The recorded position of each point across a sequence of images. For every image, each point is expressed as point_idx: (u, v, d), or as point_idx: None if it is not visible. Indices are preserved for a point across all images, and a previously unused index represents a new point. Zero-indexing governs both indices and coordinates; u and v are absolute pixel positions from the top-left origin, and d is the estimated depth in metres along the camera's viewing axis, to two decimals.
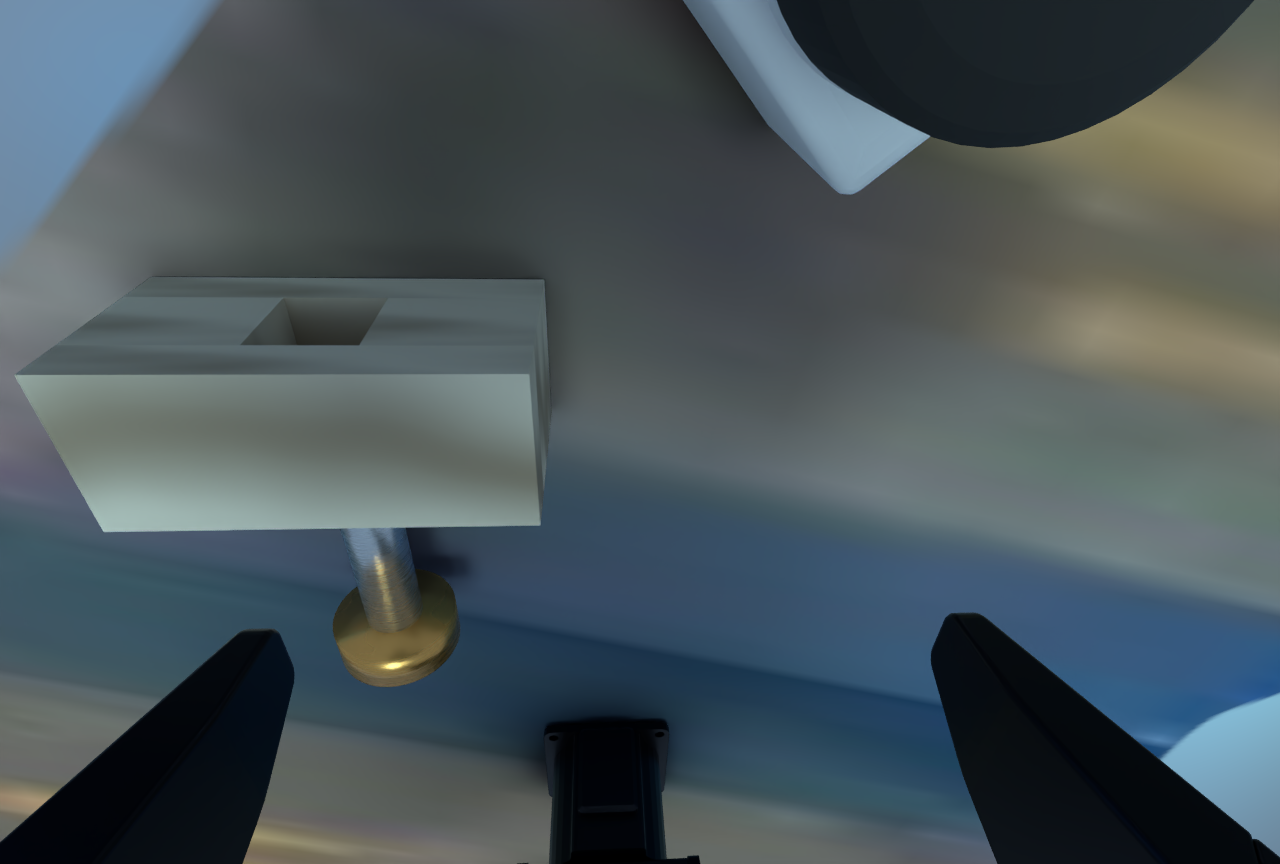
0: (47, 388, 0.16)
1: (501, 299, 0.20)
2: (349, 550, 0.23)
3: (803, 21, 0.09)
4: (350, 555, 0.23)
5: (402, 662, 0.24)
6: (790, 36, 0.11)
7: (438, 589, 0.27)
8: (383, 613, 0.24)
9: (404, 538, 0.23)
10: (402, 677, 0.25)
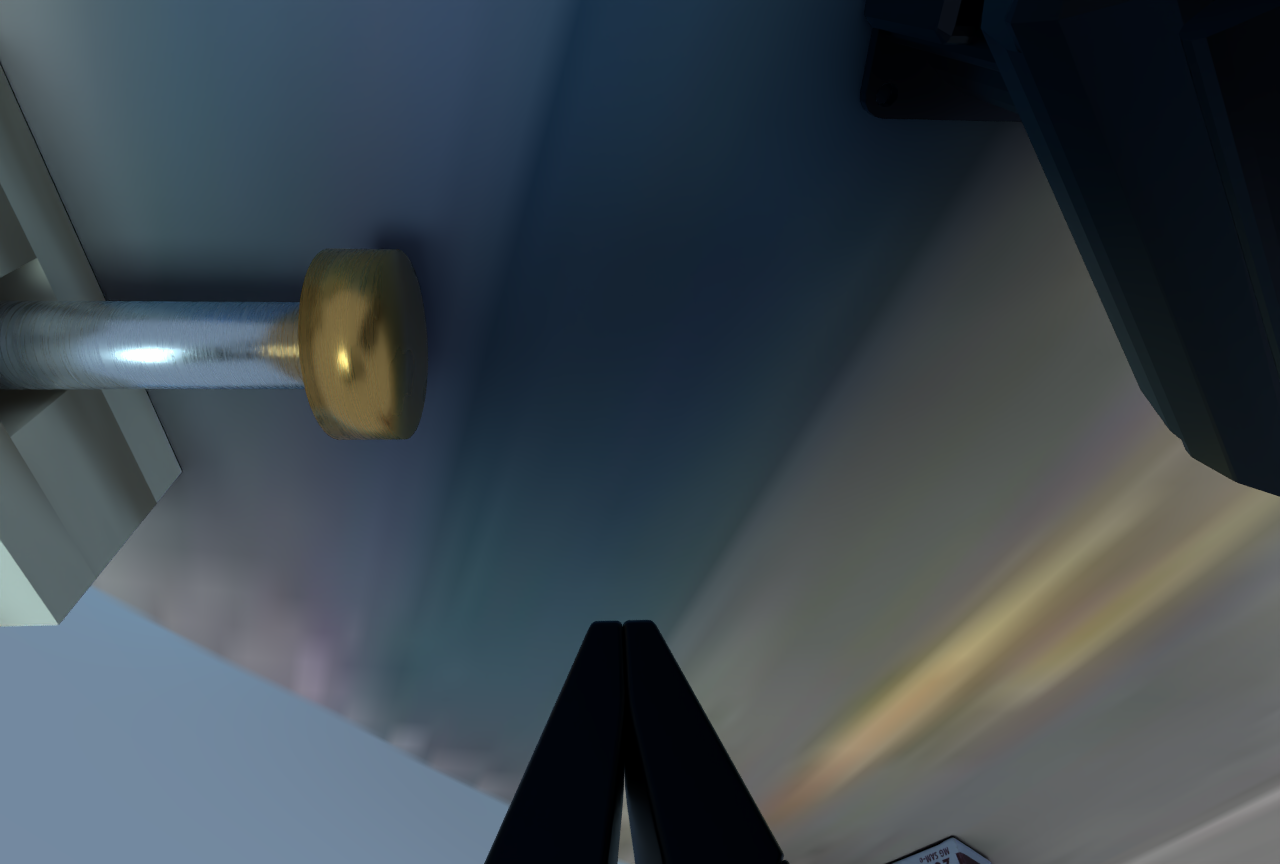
0: None
1: None
2: (155, 386, 0.15)
3: None
4: (168, 387, 0.15)
5: (314, 363, 0.14)
6: None
7: None
8: (276, 366, 0.15)
9: (148, 307, 0.15)
10: (355, 370, 0.14)
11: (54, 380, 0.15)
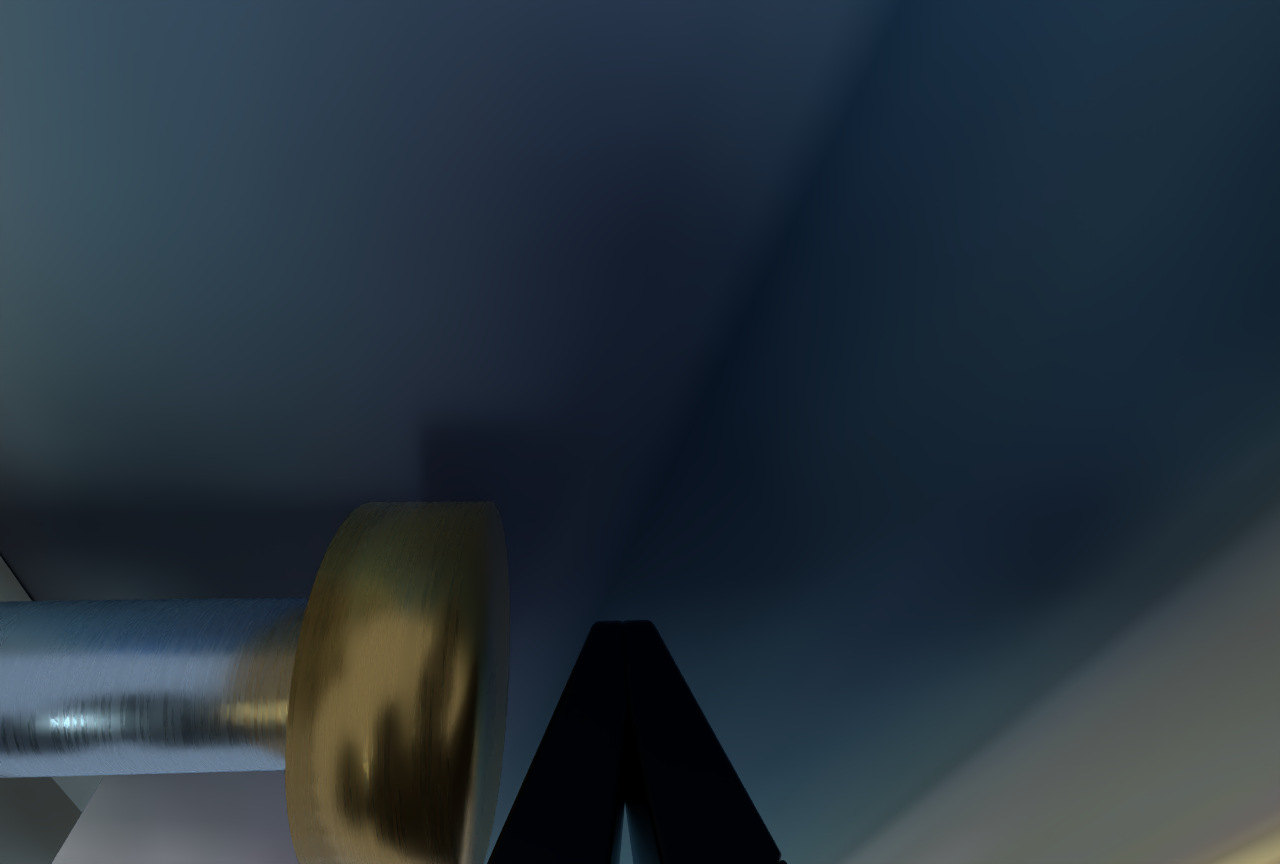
0: None
1: None
2: None
3: None
4: None
5: (321, 824, 0.06)
6: None
7: None
8: (245, 757, 0.08)
9: None
10: (407, 834, 0.07)
11: None
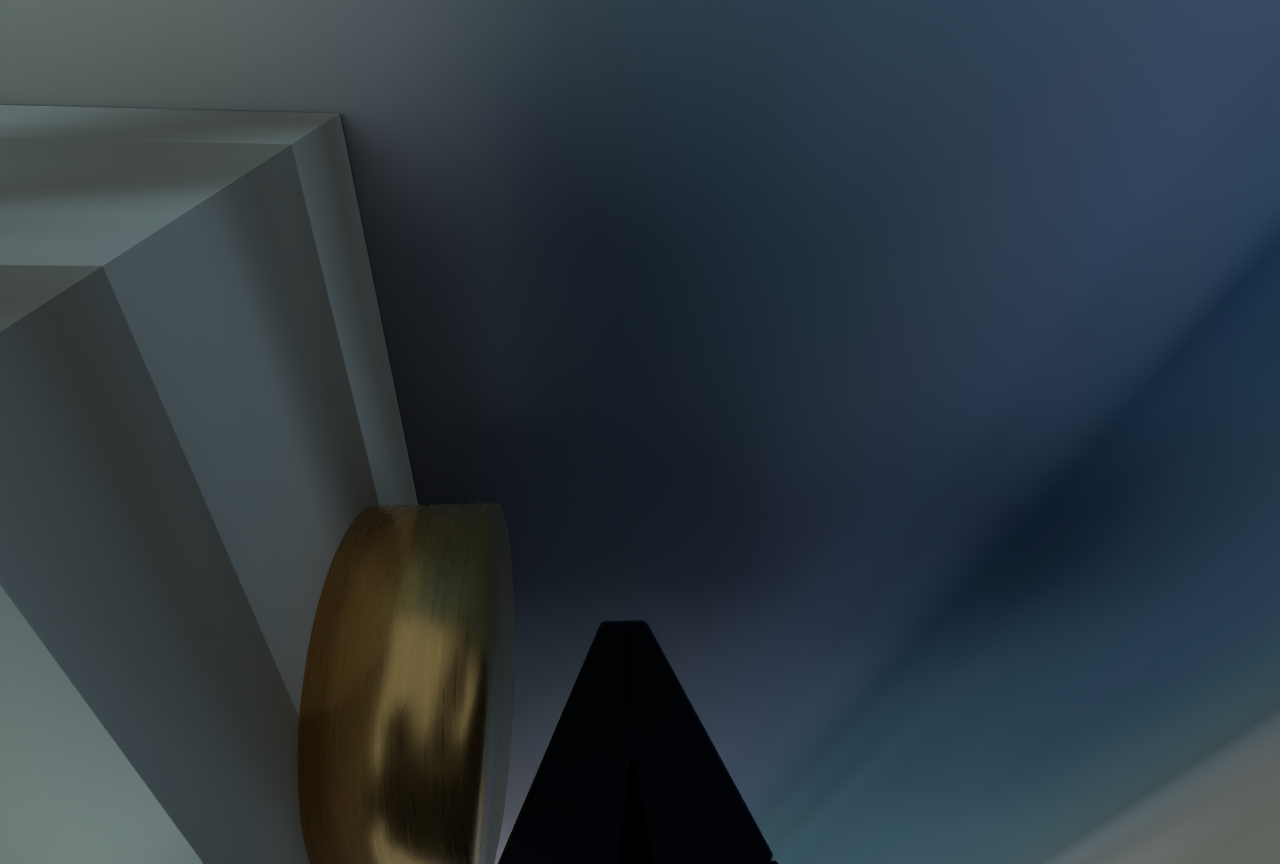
0: None
1: None
2: None
3: None
4: None
5: (333, 829, 0.06)
6: None
7: None
8: None
9: None
10: (420, 837, 0.07)
11: None
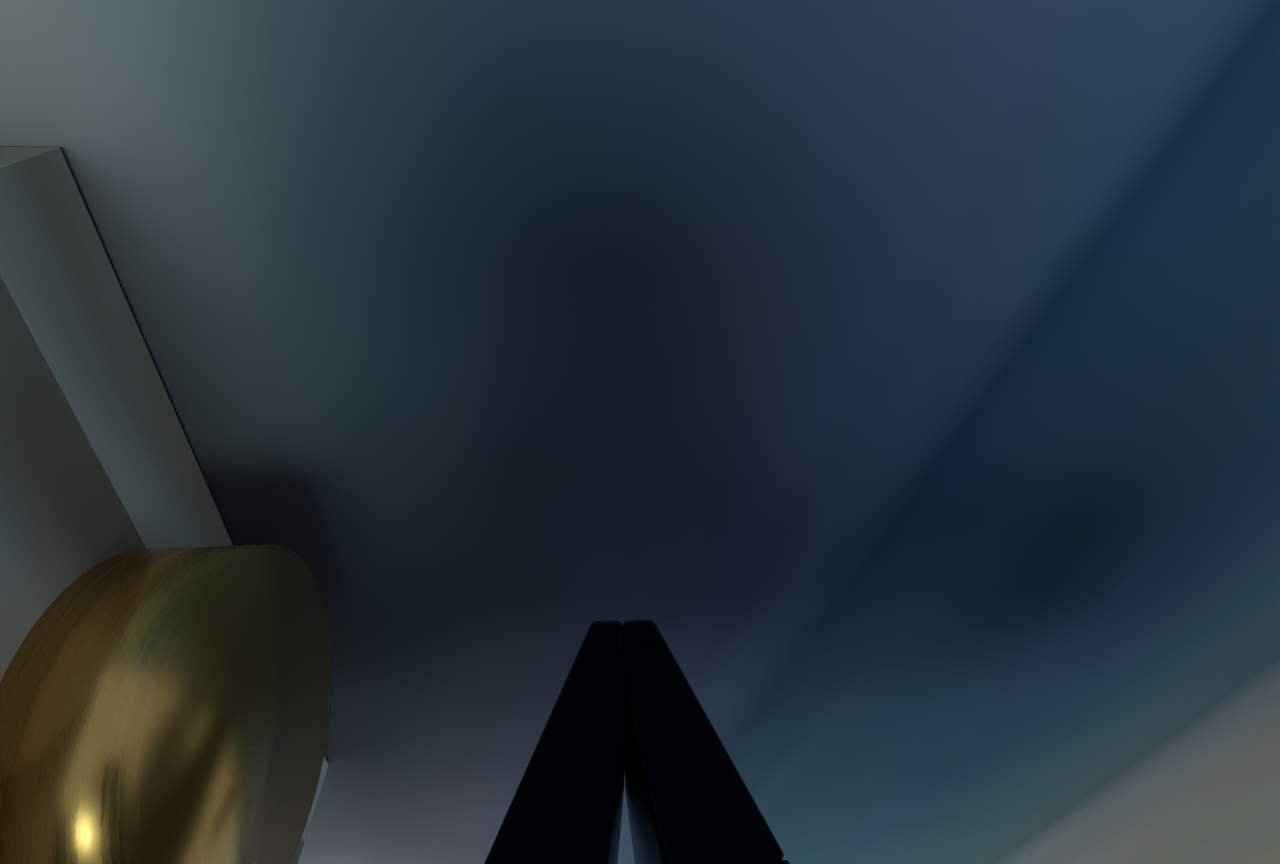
0: None
1: None
2: None
3: None
4: None
5: None
6: None
7: None
8: None
9: None
10: None
11: None
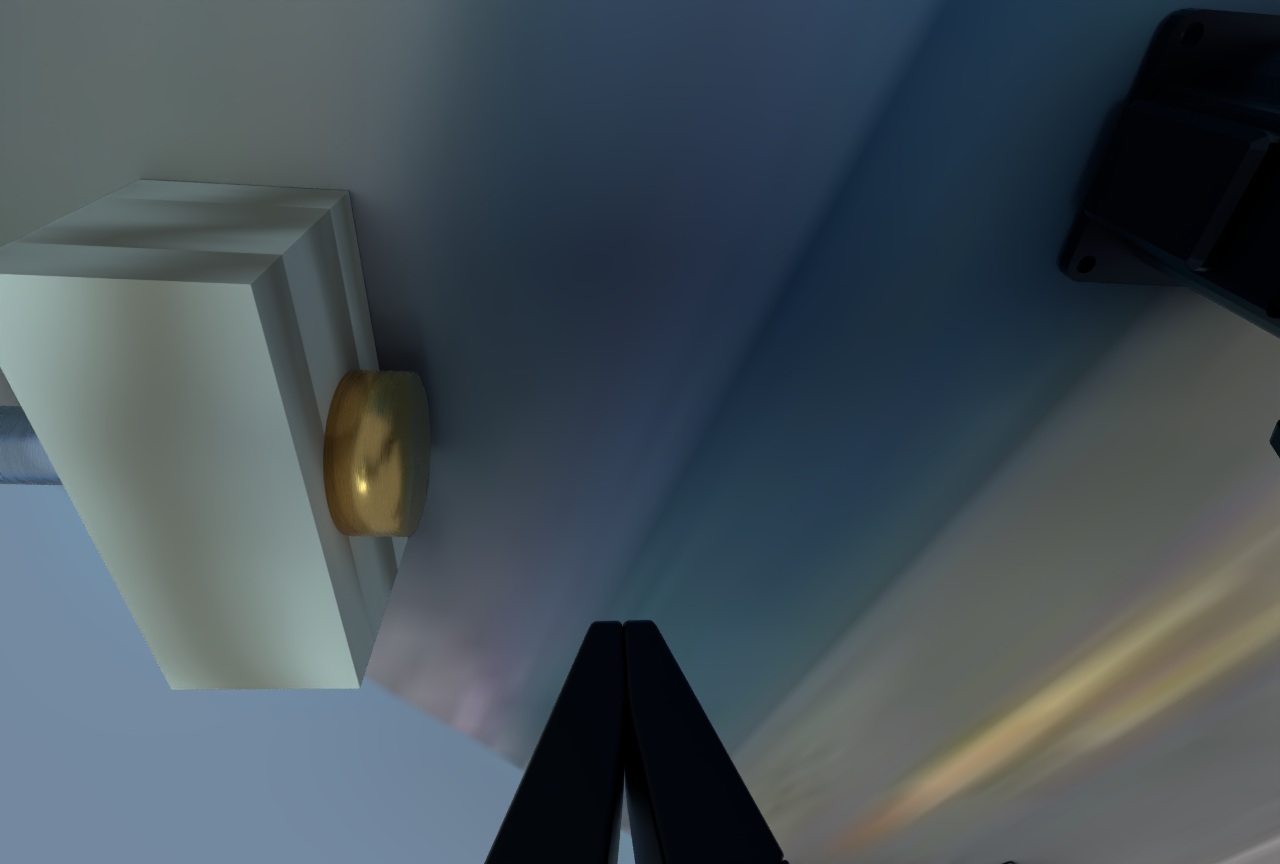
0: (179, 676, 0.18)
1: None
2: None
3: None
4: None
5: (336, 482, 0.16)
6: None
7: None
8: None
9: None
10: (371, 488, 0.16)
11: None
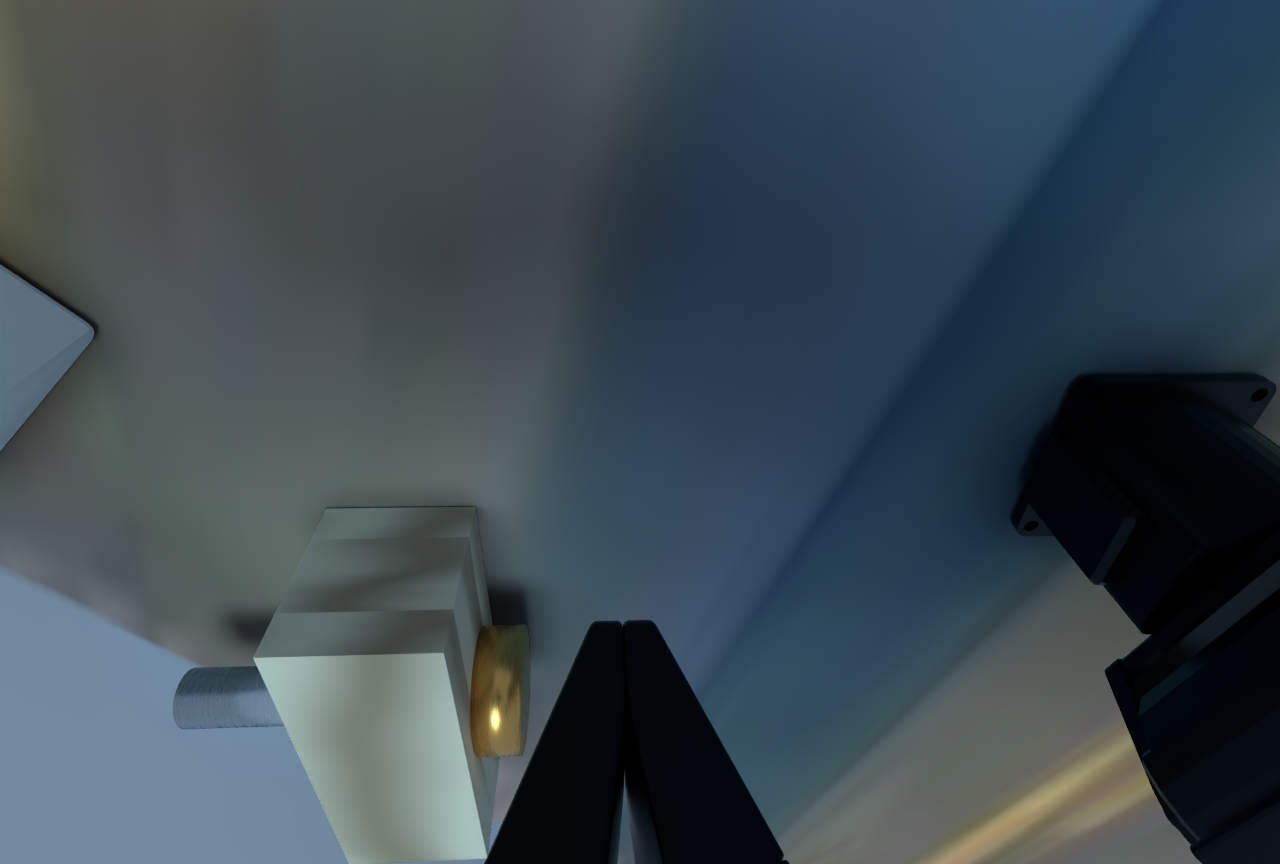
0: (356, 856, 0.25)
1: None
2: None
3: None
4: None
5: (479, 732, 0.22)
6: None
7: None
8: None
9: None
10: (504, 735, 0.22)
11: None
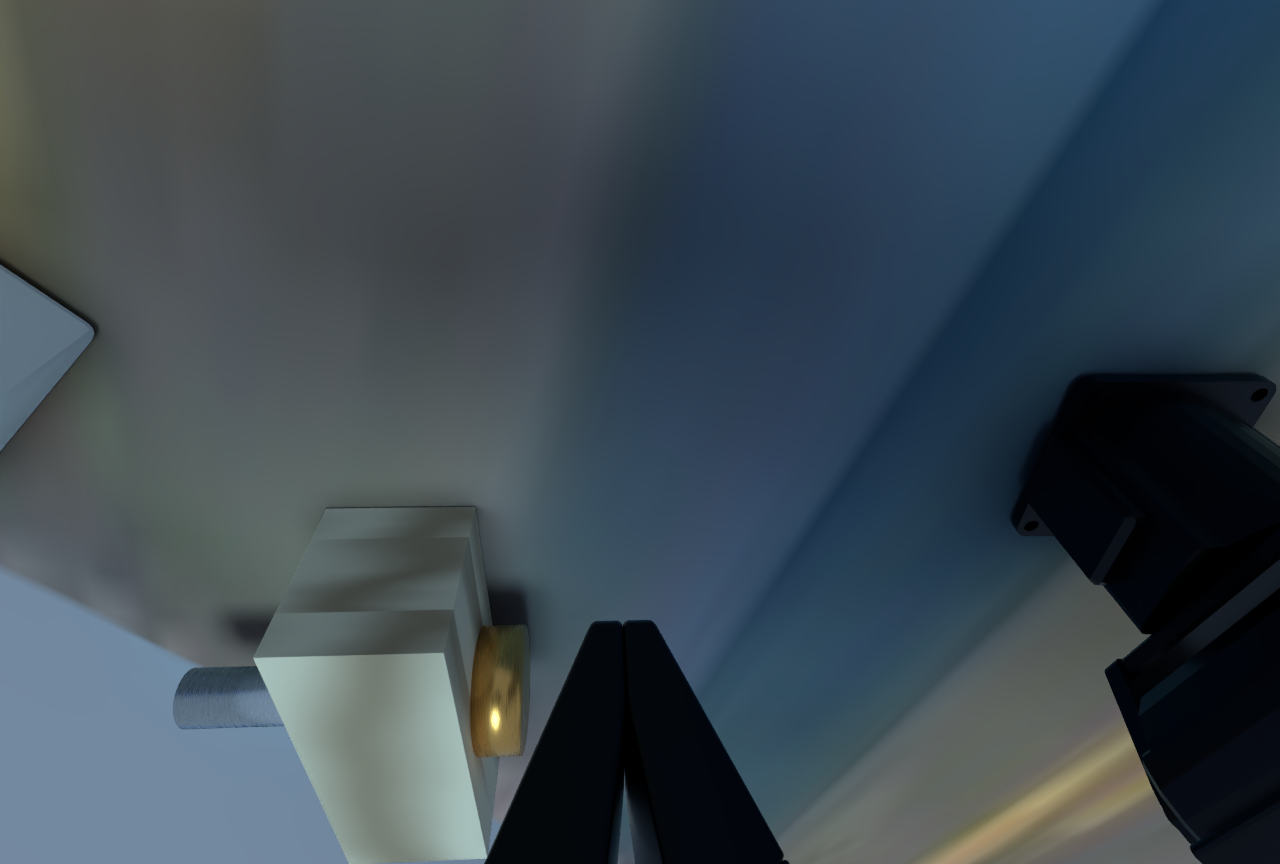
0: (356, 856, 0.25)
1: None
2: None
3: None
4: None
5: (479, 732, 0.22)
6: None
7: None
8: None
9: None
10: (504, 735, 0.22)
11: None
